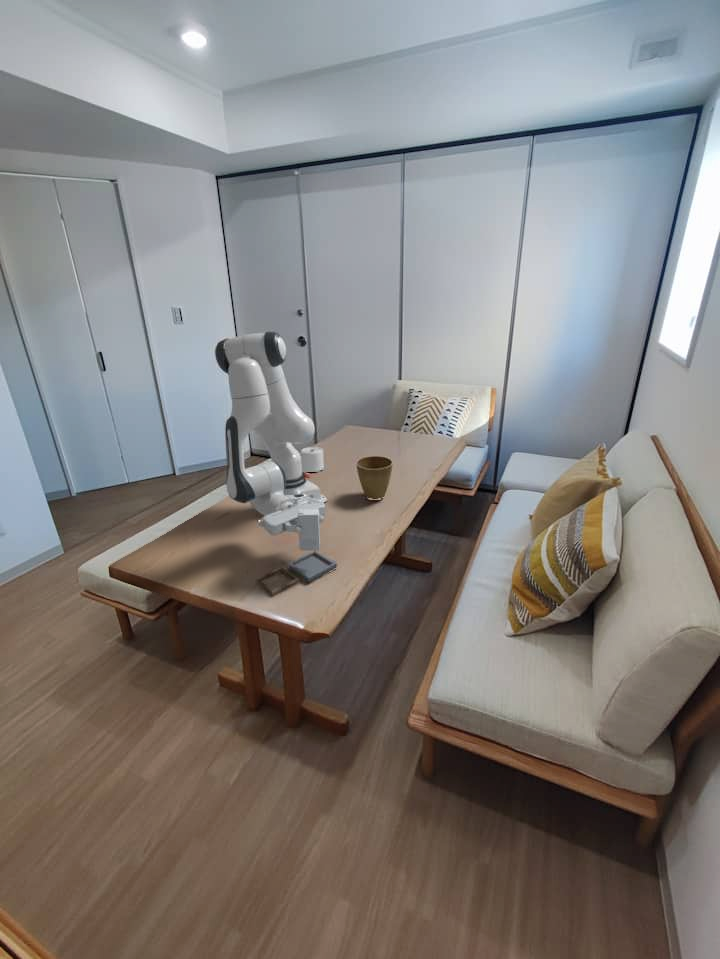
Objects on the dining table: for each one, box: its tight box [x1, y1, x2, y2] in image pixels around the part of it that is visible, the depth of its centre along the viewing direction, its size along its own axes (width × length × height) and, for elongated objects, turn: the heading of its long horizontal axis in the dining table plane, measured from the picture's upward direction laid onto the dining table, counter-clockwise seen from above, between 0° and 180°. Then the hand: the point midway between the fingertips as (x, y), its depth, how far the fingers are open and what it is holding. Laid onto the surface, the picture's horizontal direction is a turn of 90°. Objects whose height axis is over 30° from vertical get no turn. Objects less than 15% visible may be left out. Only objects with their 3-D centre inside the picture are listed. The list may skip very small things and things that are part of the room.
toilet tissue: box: [299, 446, 325, 472], centre depth 206 cm, size 11×12×10 cm
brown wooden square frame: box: [255, 566, 300, 597], centre depth 125 cm, size 9×9×1 cm
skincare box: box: [298, 509, 321, 552], centre depth 126 cm, size 6×4×12 cm
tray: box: [287, 551, 338, 585], centre depth 131 cm, size 11×11×2 cm
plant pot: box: [355, 455, 393, 499], centre depth 175 cm, size 15×15×16 cm
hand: (310, 525), depth 124 cm, fingers closed on skincare box, 7 cm apart
